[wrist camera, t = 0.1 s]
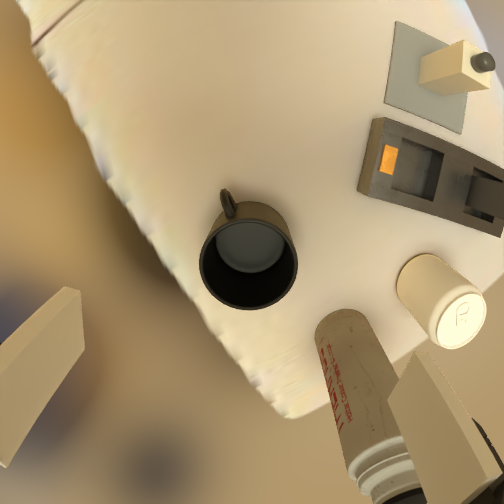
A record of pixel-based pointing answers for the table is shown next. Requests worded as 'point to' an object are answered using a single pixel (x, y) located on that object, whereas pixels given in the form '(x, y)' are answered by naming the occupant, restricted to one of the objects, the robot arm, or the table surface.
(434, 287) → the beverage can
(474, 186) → the twin plug
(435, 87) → the plug
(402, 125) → the strip
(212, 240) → the mug
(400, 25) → the mat
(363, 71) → the table surface
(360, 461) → the thermos bottle
